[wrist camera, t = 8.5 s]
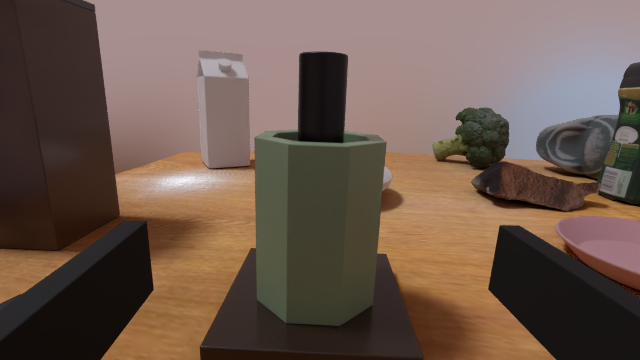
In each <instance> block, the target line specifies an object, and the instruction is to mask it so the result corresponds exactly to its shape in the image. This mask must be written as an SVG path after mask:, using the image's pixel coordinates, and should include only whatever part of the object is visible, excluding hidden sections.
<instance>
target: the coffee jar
mask: <svg viewBox="0 0 640 360" xmlns="http://www.w3.org/2000/svg"><path fill="white" fill-rule="evenodd" d="M618 96H619V101H620V112H619V117H618V121H617V125H616V128H615V131H614V134H613V137H612V141H611V144H610V146H609V149H608V152H607V155H606V157H605V160H604V163H603V165H602V168H601V171H600V174H599V177H598V180H597V183H600V184H601V186H602V187H601V189H600V190H599V191H598V192H599V193H600V194H601V195H603V196H604V197H607V198H609V199H612V200H615V199H617V200H622V201H626V202H629V203H633V204H639V205H640V62H639V63H634V64H631V65H630V66H629V67H628V68H627V69H626V71H625V73H624V78H623V80H622V82H621V85H620V89H619V91H618Z"/></svg>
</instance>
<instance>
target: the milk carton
mask: <svg viewBox="0 0 640 360" xmlns="http://www.w3.org/2000/svg"><path fill="white" fill-rule="evenodd" d="M242 58H243V57H242V54H233V53H222V52H210V51H199V64H198V73H197V85H198V104H199V122H200V140H201V159H202V161H203V162H204V163H205V165H206V166H207V167H208V168H223V167H237V166H250V136H249V135H250V134H249V82H248V81H249V80H248V75H247V72H246V69H245V67H244V64H243V60H242Z"/></svg>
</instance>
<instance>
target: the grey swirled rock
mask: <svg viewBox="0 0 640 360" xmlns="http://www.w3.org/2000/svg"><path fill="white" fill-rule="evenodd" d="M618 117H619V115H600V116H595V117H590V118H582V119H577V120H573V121H570V122H566V123H561V124H558V125H553V126H550V127H547V128H545V129H544V130H543V131H541V132H540V134H539V136H538V138H537V142H536V150H537V152H538V154H539V155H540V157H541V158H543V159H544V160H546V161H548V162H550V163H552V164H554V165H556V166H558V167H560V168H562V169H564V170H566V171H568V172H572V173H577V174H581V175H585V176H588V177H591V178H595V179H598V177H599V174H600V171H601V168H602V165H603V163H604V160H605V157H606V155H607V152H608V149H609V146H610V144H611V141H612V137H613V134H614V131H615V128H616V125H617V121H618Z"/></svg>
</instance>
